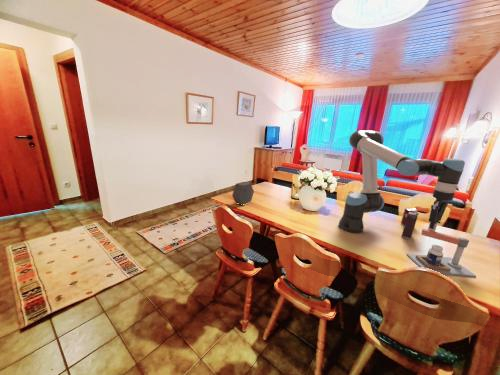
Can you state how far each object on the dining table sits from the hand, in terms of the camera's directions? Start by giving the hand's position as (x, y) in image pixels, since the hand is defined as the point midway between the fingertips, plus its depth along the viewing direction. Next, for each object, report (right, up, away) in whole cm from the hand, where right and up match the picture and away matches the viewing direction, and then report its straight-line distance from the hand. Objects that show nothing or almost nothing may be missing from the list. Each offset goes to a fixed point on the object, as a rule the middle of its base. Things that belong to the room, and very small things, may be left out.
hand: (430, 233), depth 107 cm
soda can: (+18, -3, +40) cm, 44 cm away
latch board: (0, -15, -5) cm, 15 cm away
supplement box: (+6, -7, +24) cm, 26 cm away
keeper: (+2, -2, -5) cm, 6 cm away
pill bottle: (-4, -14, -6) cm, 16 cm away
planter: (-100, +11, +66) cm, 120 cm away
